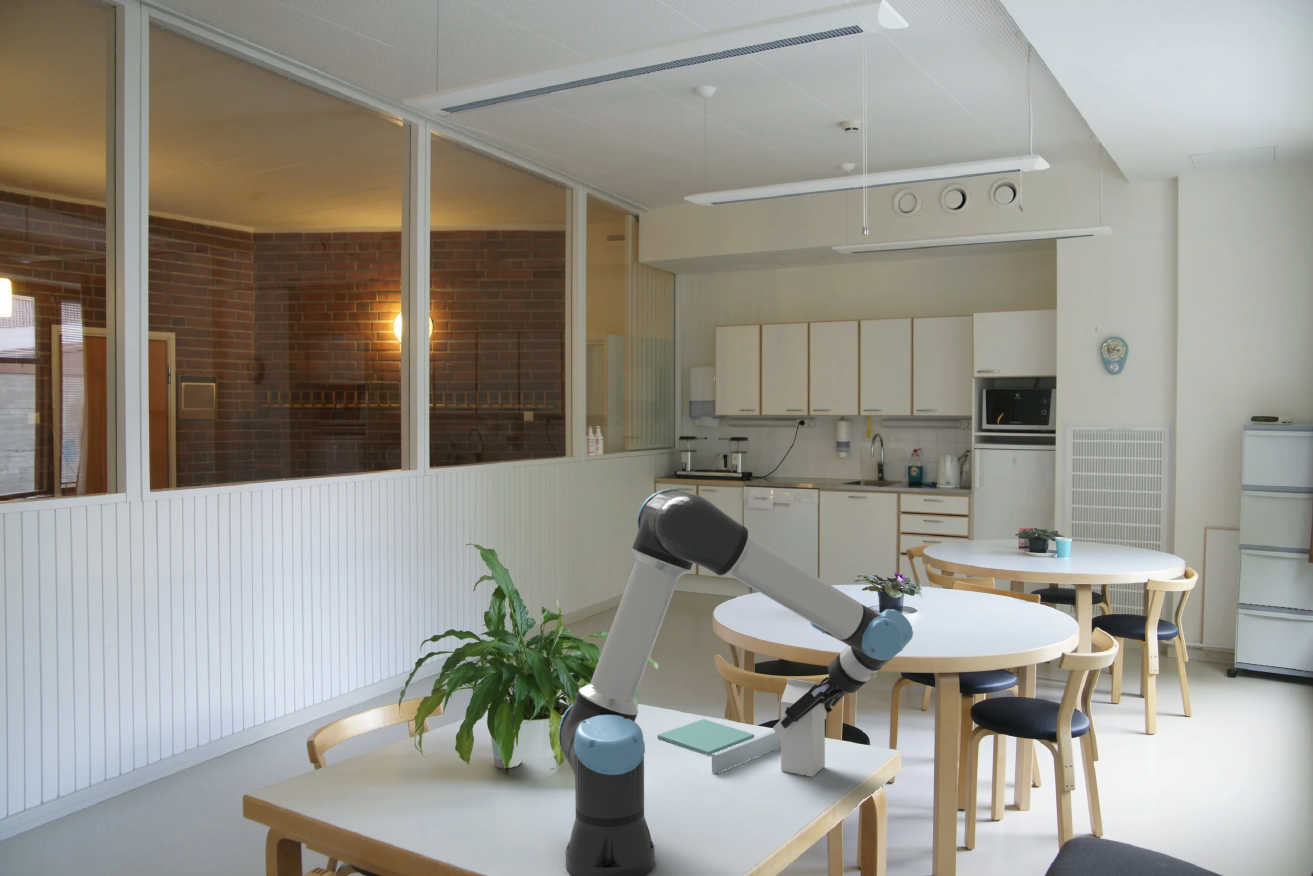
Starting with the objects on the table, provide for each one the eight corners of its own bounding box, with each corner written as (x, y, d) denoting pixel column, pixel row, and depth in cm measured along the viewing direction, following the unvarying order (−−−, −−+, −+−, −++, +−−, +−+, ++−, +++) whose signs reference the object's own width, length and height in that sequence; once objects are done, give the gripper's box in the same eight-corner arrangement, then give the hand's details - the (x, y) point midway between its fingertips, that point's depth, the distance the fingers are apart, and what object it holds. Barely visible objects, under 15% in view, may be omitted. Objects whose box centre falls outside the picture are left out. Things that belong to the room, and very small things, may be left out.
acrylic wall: (716, 774, 200) (716, 755, 200) (711, 772, 201) (711, 754, 201) (796, 741, 220) (796, 724, 220) (792, 740, 221) (792, 723, 220)
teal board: (708, 755, 211) (708, 751, 211) (657, 738, 222) (657, 735, 222) (754, 737, 222) (754, 734, 222) (703, 722, 234) (703, 719, 234)
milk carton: (812, 778, 198) (811, 687, 197) (780, 771, 201) (780, 682, 201) (825, 767, 204) (824, 679, 203) (794, 761, 207) (793, 674, 207)
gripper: (834, 694, 184) (769, 755, 195) (892, 672, 198) (829, 730, 210) (811, 662, 187) (749, 724, 199) (870, 643, 202) (809, 702, 214)
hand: (790, 727), depth 205 cm, fingers closed on milk carton, 8 cm apart
